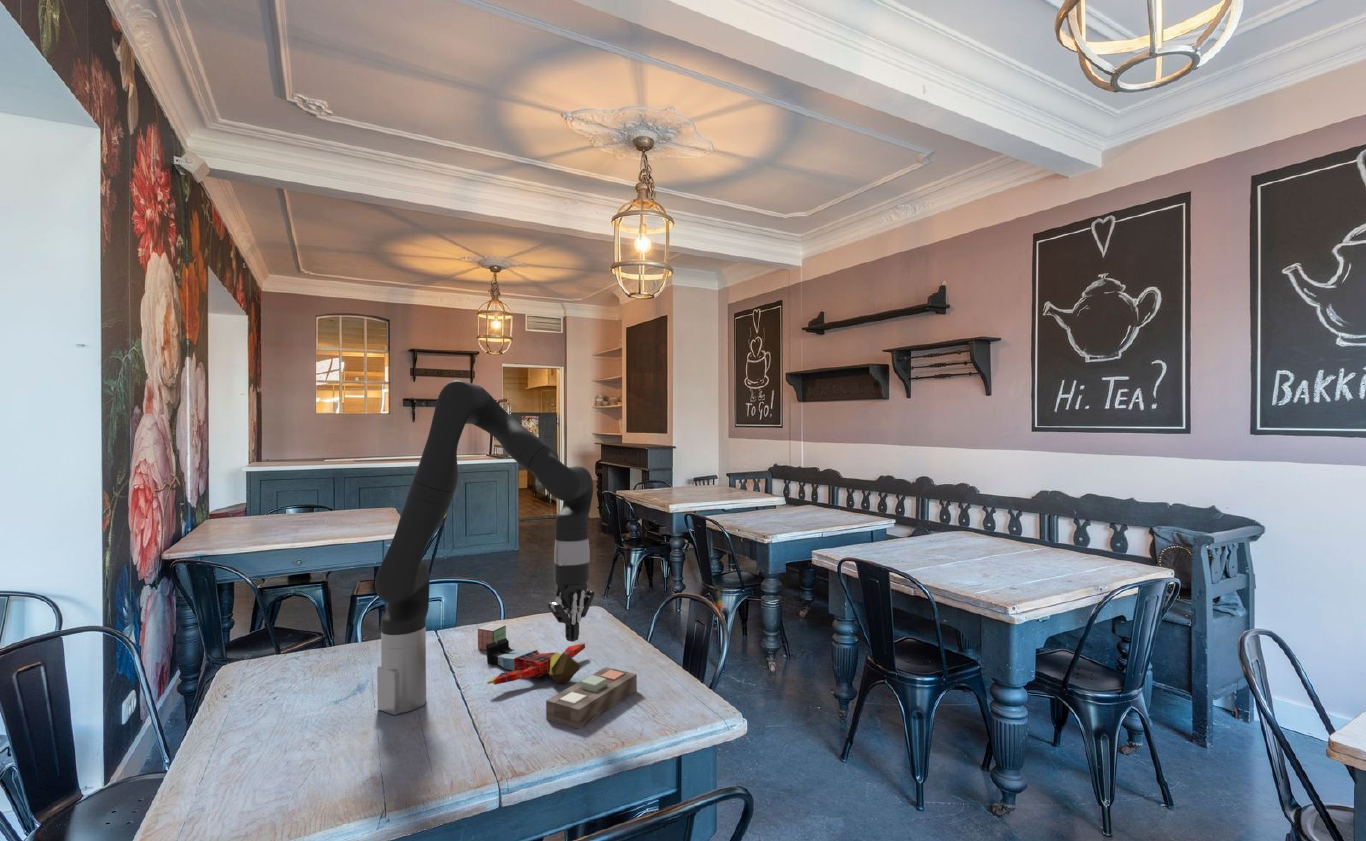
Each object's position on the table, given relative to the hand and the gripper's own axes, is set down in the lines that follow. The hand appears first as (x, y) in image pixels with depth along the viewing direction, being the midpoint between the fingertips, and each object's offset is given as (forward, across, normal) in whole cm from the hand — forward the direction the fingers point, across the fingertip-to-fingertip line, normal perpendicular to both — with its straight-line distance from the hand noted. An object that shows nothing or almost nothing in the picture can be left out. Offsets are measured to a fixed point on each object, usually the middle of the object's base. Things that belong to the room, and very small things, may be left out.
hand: (572, 640), depth 135 cm
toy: (+17, -14, -25) cm, 34 cm away
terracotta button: (+15, -14, 0) cm, 21 cm away
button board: (+17, -7, 0) cm, 18 cm away
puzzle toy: (+17, -22, -48) cm, 56 cm away
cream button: (+15, 0, 0) cm, 15 cm away
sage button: (+14, -7, 0) cm, 16 cm away
